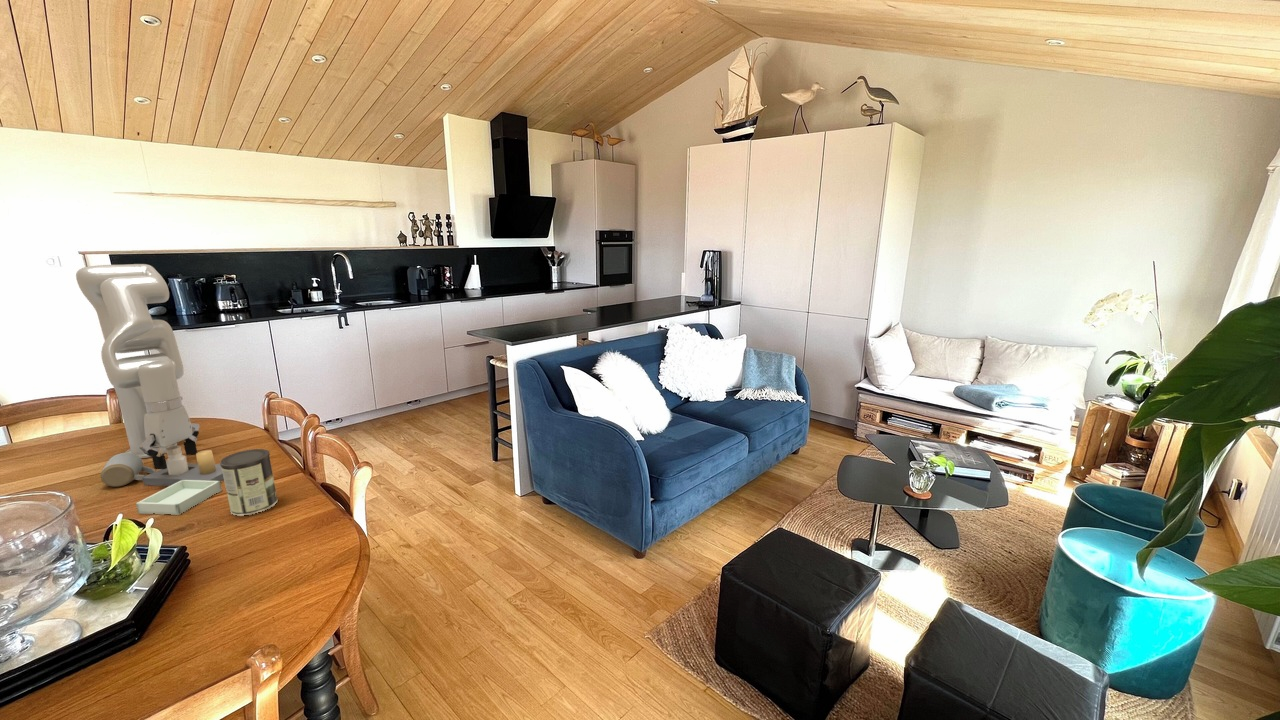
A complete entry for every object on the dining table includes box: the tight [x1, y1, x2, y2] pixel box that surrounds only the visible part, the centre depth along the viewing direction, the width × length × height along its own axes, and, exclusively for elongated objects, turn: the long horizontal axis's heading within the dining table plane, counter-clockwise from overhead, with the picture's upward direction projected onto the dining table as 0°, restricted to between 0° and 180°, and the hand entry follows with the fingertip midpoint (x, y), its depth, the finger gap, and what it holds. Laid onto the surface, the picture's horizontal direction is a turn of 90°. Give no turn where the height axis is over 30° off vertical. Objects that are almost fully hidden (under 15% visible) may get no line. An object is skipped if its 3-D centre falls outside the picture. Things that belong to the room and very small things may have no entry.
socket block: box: [142, 449, 224, 487], centre depth 151 cm, size 10×20×8 cm, turn 87°
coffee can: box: [219, 448, 279, 517], centre depth 135 cm, size 10×10×14 cm
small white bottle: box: [166, 444, 189, 475], centre depth 151 cm, size 4×4×10 cm
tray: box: [135, 480, 223, 516], centre depth 139 cm, size 13×11×3 cm
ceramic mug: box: [100, 452, 157, 488], centre depth 149 cm, size 11×8×8 cm
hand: (177, 461), depth 151 cm, fingers open, 9 cm apart
